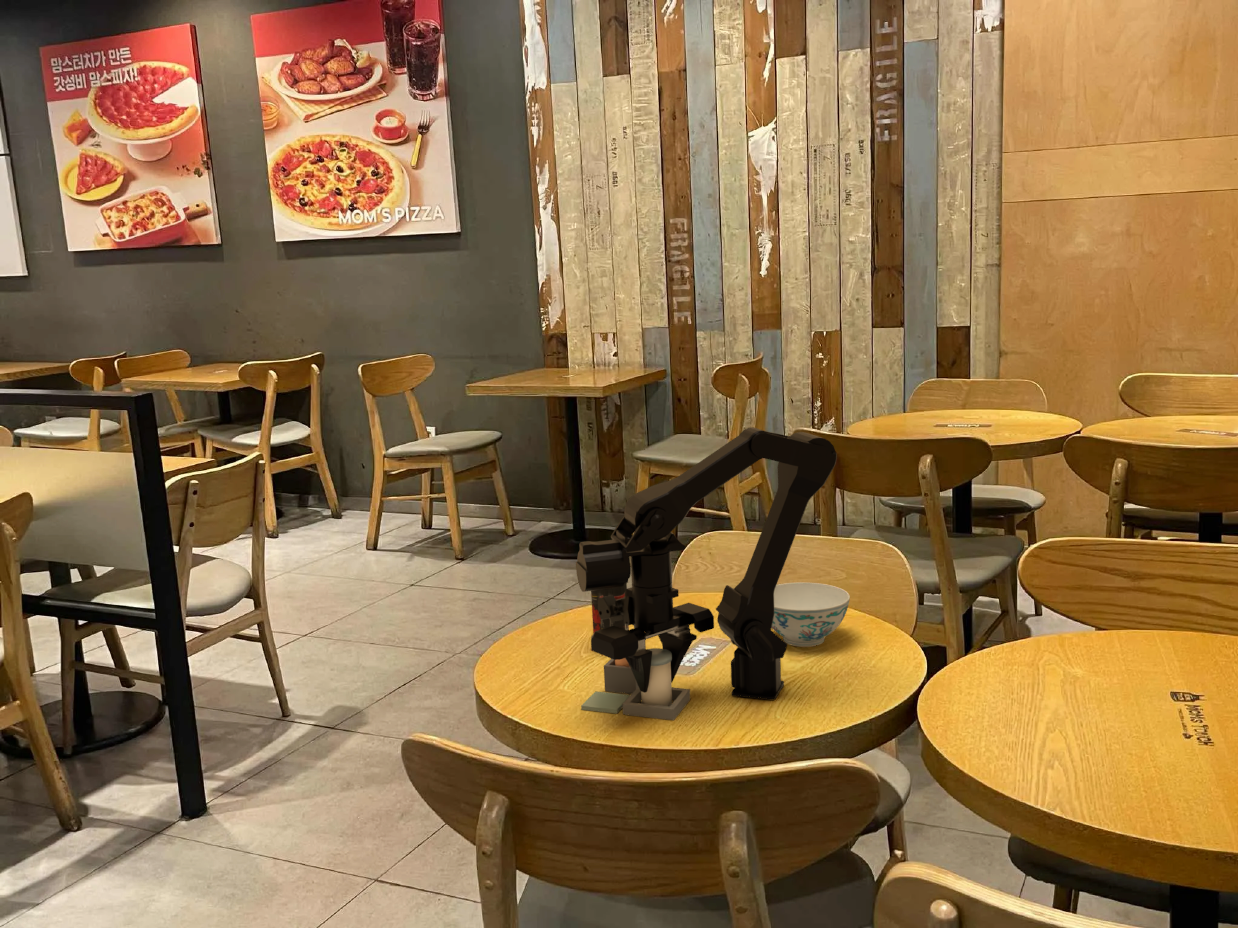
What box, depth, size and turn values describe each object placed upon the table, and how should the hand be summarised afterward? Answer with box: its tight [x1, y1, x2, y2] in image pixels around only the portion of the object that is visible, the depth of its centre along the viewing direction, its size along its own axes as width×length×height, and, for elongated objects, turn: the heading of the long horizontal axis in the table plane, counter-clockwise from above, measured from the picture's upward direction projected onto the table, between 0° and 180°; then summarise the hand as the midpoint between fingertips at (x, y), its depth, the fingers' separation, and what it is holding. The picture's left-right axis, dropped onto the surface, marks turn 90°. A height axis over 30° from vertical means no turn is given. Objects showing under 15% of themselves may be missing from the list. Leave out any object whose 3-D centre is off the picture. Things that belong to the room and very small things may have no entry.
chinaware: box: [771, 581, 851, 648], centre depth 182 cm, size 15×15×8 cm
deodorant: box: [590, 583, 630, 635], centre depth 182 cm, size 6×6×15 cm
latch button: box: [615, 658, 630, 667], centre depth 166 cm, size 3×3×4 cm
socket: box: [622, 687, 691, 721], centre depth 158 cm, size 8×8×2 cm
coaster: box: [580, 691, 631, 714], centre depth 160 cm, size 6×6×1 cm
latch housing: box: [603, 658, 639, 695], centre depth 166 cm, size 5×5×4 cm
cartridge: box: [640, 647, 673, 707], centre depth 157 cm, size 5×5×8 cm
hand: (656, 686), depth 158 cm, fingers closed on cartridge, 4 cm apart
